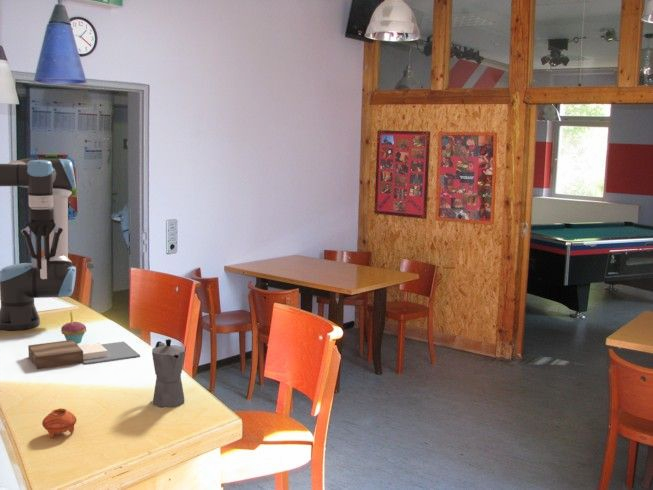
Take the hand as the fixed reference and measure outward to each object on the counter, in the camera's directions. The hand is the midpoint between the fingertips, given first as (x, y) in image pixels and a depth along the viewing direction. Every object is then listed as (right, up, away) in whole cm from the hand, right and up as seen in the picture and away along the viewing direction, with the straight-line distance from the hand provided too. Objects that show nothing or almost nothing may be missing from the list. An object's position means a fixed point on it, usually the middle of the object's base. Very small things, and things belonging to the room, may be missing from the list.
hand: (43, 278), depth 240 cm
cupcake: (+5, -23, +15) cm, 28 cm away
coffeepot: (+49, -33, -38) cm, 70 cm away
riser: (+6, -26, -6) cm, 28 cm away
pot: (+28, -36, -62) cm, 77 cm away
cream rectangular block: (+16, -25, 0) cm, 30 cm away
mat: (+20, -25, +3) cm, 32 cm away
